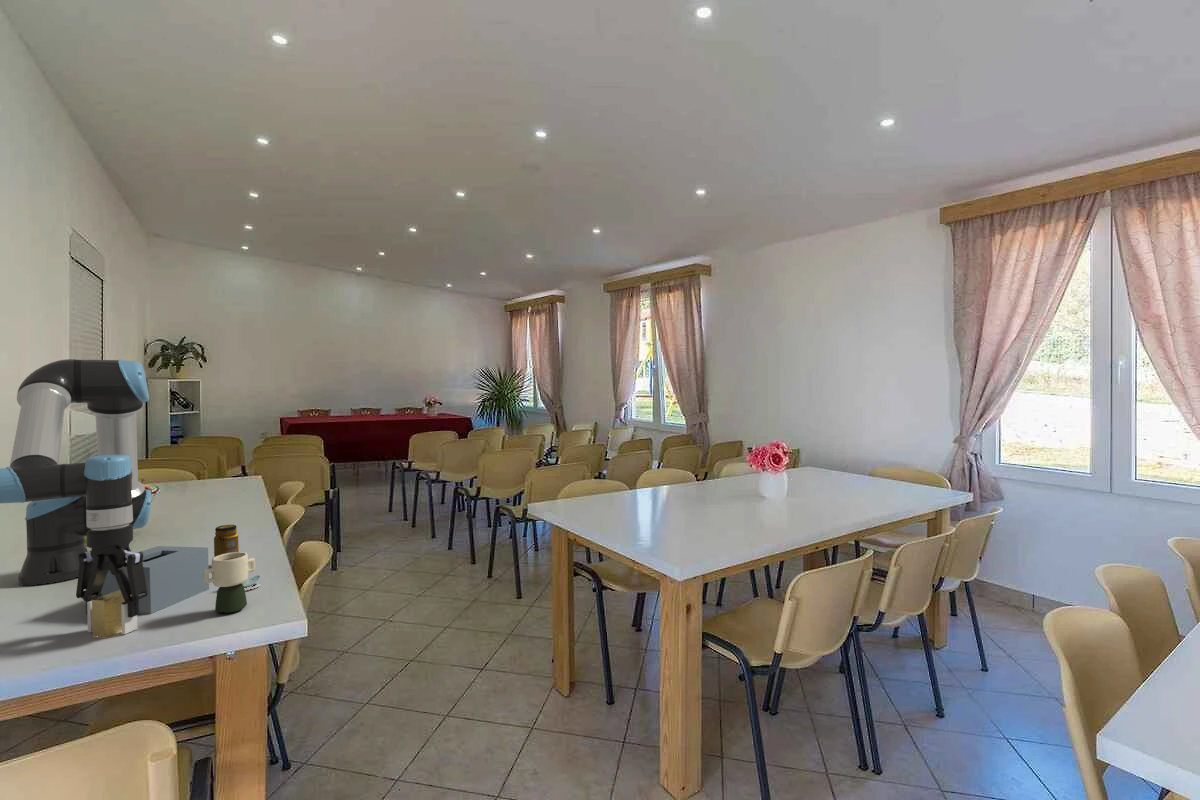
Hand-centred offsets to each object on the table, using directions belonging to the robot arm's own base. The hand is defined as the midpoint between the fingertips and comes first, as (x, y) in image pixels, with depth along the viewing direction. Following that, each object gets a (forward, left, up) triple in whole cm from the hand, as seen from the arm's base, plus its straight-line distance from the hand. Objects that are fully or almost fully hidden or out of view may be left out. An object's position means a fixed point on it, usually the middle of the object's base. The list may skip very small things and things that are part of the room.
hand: (112, 630), depth 118 cm
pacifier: (+9, +27, -1) cm, 28 cm away
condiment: (-11, +42, -1) cm, 44 cm away
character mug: (+17, +13, 0) cm, 21 cm away
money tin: (-8, +17, 0) cm, 19 cm away
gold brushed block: (0, 0, 0) cm, 0 cm away
